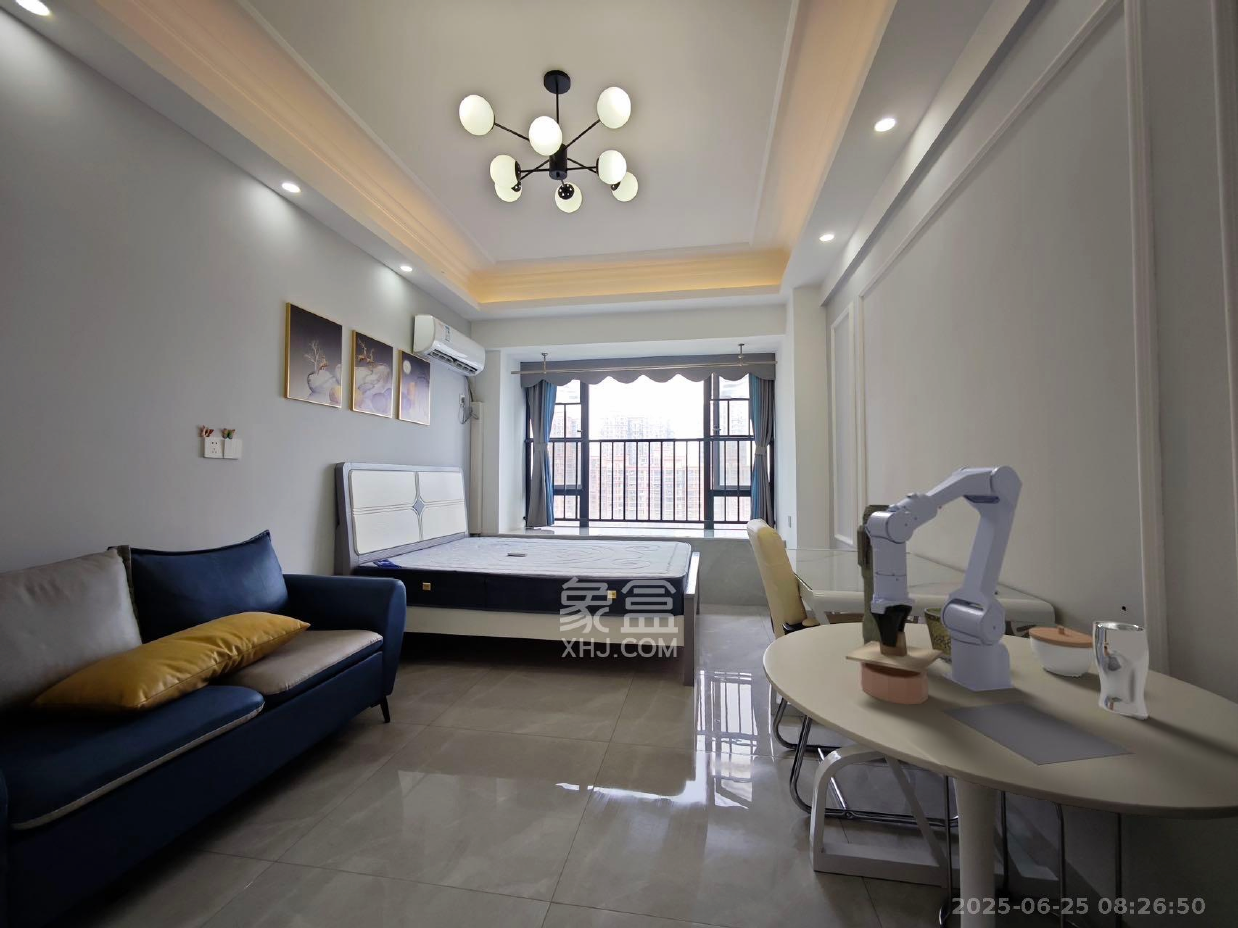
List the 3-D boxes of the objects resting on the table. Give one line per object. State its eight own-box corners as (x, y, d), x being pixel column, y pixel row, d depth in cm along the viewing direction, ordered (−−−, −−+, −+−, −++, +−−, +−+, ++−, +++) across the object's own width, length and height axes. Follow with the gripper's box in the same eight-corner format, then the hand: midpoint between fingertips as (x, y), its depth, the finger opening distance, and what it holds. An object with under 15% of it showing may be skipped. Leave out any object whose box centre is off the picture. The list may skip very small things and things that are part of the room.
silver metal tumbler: (1142, 725, 81) (1138, 633, 82) (1087, 708, 87) (1084, 623, 88) (1158, 715, 85) (1154, 627, 85) (1104, 699, 91) (1100, 618, 91)
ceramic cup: (958, 666, 108) (957, 620, 108) (915, 651, 117) (914, 609, 117) (994, 657, 113) (993, 613, 113) (950, 644, 122) (949, 603, 122)
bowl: (897, 679, 100) (897, 655, 101) (941, 703, 90) (940, 675, 90) (849, 683, 99) (848, 658, 99) (887, 708, 88) (887, 680, 88)
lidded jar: (1112, 682, 98) (1110, 635, 99) (1053, 679, 100) (1051, 633, 100) (1071, 663, 109) (1070, 620, 109) (1018, 660, 110) (1017, 618, 111)
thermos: (849, 646, 120) (846, 504, 122) (886, 641, 124) (882, 503, 126) (879, 659, 112) (875, 506, 113) (917, 652, 116) (913, 505, 117)
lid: (942, 654, 94) (939, 629, 94) (921, 672, 85) (918, 645, 85) (871, 643, 103) (869, 621, 104) (845, 659, 94) (843, 634, 95)
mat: (1022, 704, 89) (1022, 701, 89) (1134, 755, 72) (1134, 752, 72) (940, 712, 86) (940, 709, 86) (1037, 768, 69) (1037, 764, 69)
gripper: (899, 581, 87) (901, 658, 87) (924, 571, 97) (927, 640, 96) (858, 576, 92) (860, 648, 92) (886, 566, 102) (888, 632, 102)
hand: (891, 644), depth 94 cm, fingers closed on lid, 2 cm apart
